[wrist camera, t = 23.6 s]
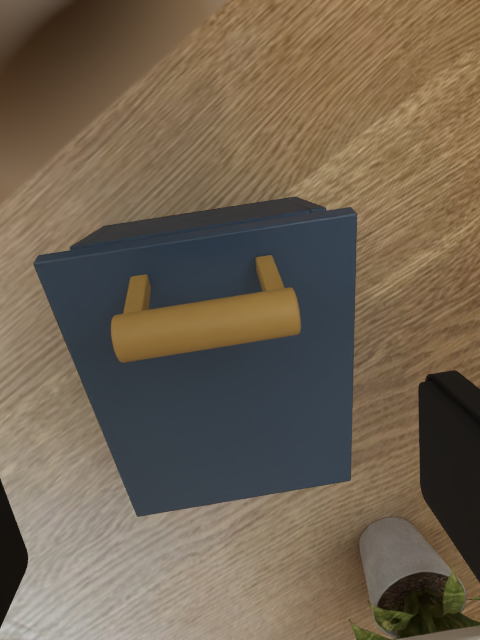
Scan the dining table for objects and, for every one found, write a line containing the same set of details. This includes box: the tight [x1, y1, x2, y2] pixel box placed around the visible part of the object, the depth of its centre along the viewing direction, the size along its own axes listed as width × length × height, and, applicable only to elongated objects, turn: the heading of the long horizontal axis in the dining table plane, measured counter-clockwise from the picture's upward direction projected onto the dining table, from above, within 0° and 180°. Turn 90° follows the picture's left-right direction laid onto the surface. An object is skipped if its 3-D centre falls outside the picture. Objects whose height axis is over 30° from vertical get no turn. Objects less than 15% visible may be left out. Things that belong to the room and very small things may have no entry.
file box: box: [70, 197, 326, 250], centre depth 28 cm, size 16×13×8 cm
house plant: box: [348, 517, 480, 640], centre depth 32 cm, size 14×14×16 cm
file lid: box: [34, 207, 357, 517], centre depth 20 cm, size 16×13×5 cm
